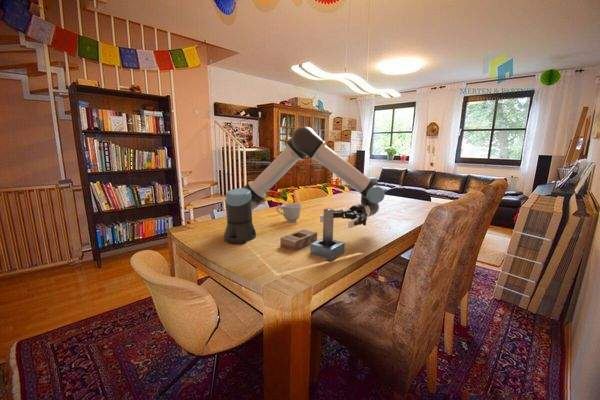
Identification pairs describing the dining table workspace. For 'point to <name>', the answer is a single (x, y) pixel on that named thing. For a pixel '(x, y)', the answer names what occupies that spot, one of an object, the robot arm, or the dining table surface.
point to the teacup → (290, 211)
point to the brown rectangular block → (298, 239)
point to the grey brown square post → (328, 227)
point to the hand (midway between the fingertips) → (334, 221)
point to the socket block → (327, 249)
